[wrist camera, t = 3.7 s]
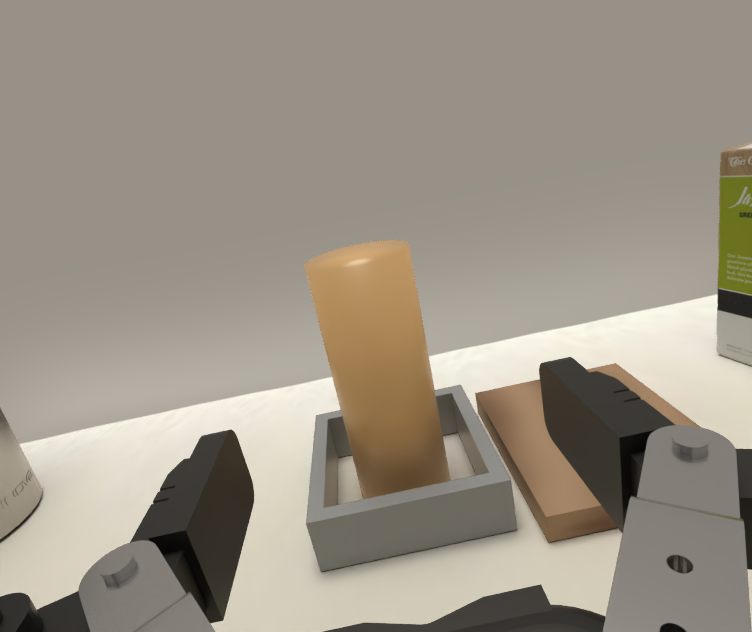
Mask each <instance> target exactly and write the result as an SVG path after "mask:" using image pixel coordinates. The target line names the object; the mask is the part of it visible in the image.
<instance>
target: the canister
mask: <svg viewBox="0 0 752 632" xmlns="http://www.w3.org/2000/svg"><path fill="white" fill-rule="evenodd" d="M305 270H306V274H307V278H308V282H309V286H310V290H311V294H312V298H313V302H314V306H315V310H316V314H317V317H318V322H319V326H320V330H321V334H322V338H323V341H324V345H325V349H326V353H327V357H328V361H329V365H330V369H331V373H332V377H333V381H334V385H335V389H336V393H337V397H338V401H339V405H340V409H341V412H342V416H343V420H344V424H345V428H346V432H347V436H348V440H349V444H350V448H351V452H352V456H353V460H354V464H355V468H356V472H357V476H358V480H359V483H360V487H361V491H362V495H363V499H368V498H373V497H377V496H382V495H387V494H392V493H396V492H401V491H406V490H410V489H415V488H420V487H424V486H429V485H434V484H438V483H443V482H448V481H450V475H449V469H448V464H447V458H446V452H445V446H444V441H443V435H442V429H441V424H440V418H439V412H438V407H437V401H436V395H435V390H434V384H433V378H432V373H431V367H430V361H429V356H428V350H427V345H426V339H425V333H424V328H423V322H422V316H421V310H420V305H419V299H418V293H417V288H416V282H415V276H414V271H413V265H412V260H411V254H410V248H409V243H407V242H406V241H401V240H383V241H375V242H367V243H362V244H357V245H352V246H347V247H343V248H340V249H336V250H333V251H330V252H327V253H324V254H321V255H319V256H316V257H314V258H312V259H311V260H309V261H308V262H306V263H305Z"/></svg>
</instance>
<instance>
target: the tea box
mask: <svg viewBox="0 0 752 632" xmlns="http://www.w3.org/2000/svg"><path fill="white" fill-rule="evenodd" d="M719 184H720V185H719V206H720V220H719V232H718V245H719V266H718V308H717V309H718V310H717V352H718V353H720V355H721V356H724V357H727V358H730V359H732V360H735V361H738V362H741V363H744V364H746V365H749V366H752V142H751V143H747V144H743V145H740V146H736V147H733V148H729V149H726V150H723V151H722V152H721V164H720V180H719Z"/></svg>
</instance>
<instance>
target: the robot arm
mask: <svg viewBox="0 0 752 632" xmlns="http://www.w3.org/2000/svg"><path fill="white" fill-rule="evenodd" d="M539 374H540V384H541V393H542V403H543V412H544V420H545V424H546V427H547V430H548V433H549V435H550V437H551V439H552V441H553V442H554V443H555V445H556V446H557V447H558V449H559V450H560V451H561V453H562V454H563V455H564V457H565V458H566V459H567V461H568V462H569V463H570V465H571V466H572V467H573V469H574V470H575V471H576V473H577V474H578V475H579V476H580V478H581V479H582V480H583V482H584V483H585V484H586V486H587V487H588V488H589V490H590V491H591V492H592V494H593V495H594V496H595V498H596V499H597V500H598V502H599V503H600V504H601V506H602V507H603V508H604V510H605V511H606V512H607V514H608V515H609V516H610V518H611V519H612V520H613V521H614V523H615V524H616V525H617V527H618V528H619V529H620V531H621V532H622V533H623V534H622V539H621V544H620V549H619V554H618V559H617V564H616V568H615V573H614V578H613V583H612V588H611V593H610V598H609V603H608V608H607V613H606V617H605V616H602V615H600V614H597V613H594V612H591V611H587V610H584V609H580V608H576V607H569V606H562V605H550V603H549V601H548V599H547V597H546V594H545V592H544V590H543V588H542V586H541V585H536V586H532V587H527V588H523V589H518V590H513V591H509V592H504V593H500V594H495V595H490V596H486V597H482V598H480V599H478V600H476V601H474V602H472V603H470V604H468V605H466V606H464V607H462V608H460V609H458V610H456V611H454V612H452V613H450V614H448V615H446V616H444V617H442V618H440V619H438V620H436V621H434V622H431V623H429V624H423V625H415V624H387V623H361V624H356V625H352V626H347V627H343V628H338V629H333V630H329V631H324V632H751V617H750V602H749V587H748V573H747V569H752V449H735V447H734V446H733V444H732V443H731V442H730V441H729V440H728V439H726V438H725V437H723V436H722V435H720V434H718V433H716V432H714V431H711V430H708V429H705V428H701V427H696V426H688V425H675V424H674V423H673V422H671V421H670V420H669V419H668V418H666V417H665V416H664V415H662V414H661V413H660V412H659V411H657V410H656V409H655V408H654V407H652V406H651V405H650V404H648V403H647V402H646V401H645V400H643V399H642V400H641V398H640V396H638V395H637V394H636V393H634V392H633V391H630V389H629V388H628V387H627V386H626V385H624V384H623V383H622V382H620V381H619V380H618V379H617V378H615V377H612V376H609V375H606V374H604V373H601V372H598V371H594V372H588V371H587V370H586V369H585V368H584V367H583V366H581V365H580V364H579V363H578V362H577V361H575V360H574V359H573V358H571V357H568V358H563V359H558V360H554V361H549V362H545V363H541V364H540V368H539ZM41 496H42V488H41V486H40V484H39V482H38V480H37V478H36V476H35V474H34V472H33V470H32V468H31V467H30V465H29V463H28V461H27V459H26V457H25V455H24V453H23V451H22V449H21V447H20V445H19V443H18V441H17V439H16V437H15V435H14V433H13V431H12V429H11V428H10V426H9V424H8V422H7V420H6V418H5V416H4V414H3V413H2V411H1V408H0V539H1V538H3V537H4V536H6V535H7V534H8V533H9V532H11V531H12V530H13V529H14V528H15V527H17V526H18V525H19V524H20V523H21V522H22V521H23V520H24V519H25V518H26V517H27V516H28V515H29V514H30V513H31V512H32V511H33V509H34V508H35V507H36V505H37V504H38V502H39V500H40V498H41ZM253 503H254V489H253V483H252V479H251V476H250V473H249V470H248V468H247V465H246V462H245V459H244V456H243V453H242V450H241V447H240V444H239V441H238V438H237V436H236V434H235V432H234V431H233V430H227V431H222V432H217V433H213V434H208V435H204V436H202V437H201V438H200V439H199V441H198V443H197V445H196V447H195V449H194V451H193V453H192V455H191V457H190V458H188V459H184V460H183V461H181V462H180V463H179V464H178V465H177V466H176V467H175V468H174V469H173V470H172V471H171V472H170V473H169V474H168V476H167V477H166V479H165V481H164V483H163V484H162V486H161V488H160V492H158V493H157V495H156V497H155V499H154V501H153V504H152V505H151V506H150V508H149V509H148V511H147V513H146V515H145V517H144V518H143V520H142V522H141V524H140V526H139V527H138V529H137V531H136V533H135V534H134V536H133V538H132V540H131V542H130V543H128V544H125V545H123V546H120V547H118V548H116V549H114V550H113V551H111V552H109V553H108V554H106V555H105V556H104V557H102V558H101V559H100V560H98V561H97V562H96V563H95V564H94V565H93V566H92V567H91V568H90V569H89V570H88V572H87V573H86V574H85V576H84V577H83V579H82V581H81V583H80V586H79V591H78V592H75V593H73V594H71V595H69V596H67V597H64V598H62V599H60V600H58V601H55V602H53V603H51V604H49V605H46V606H44V607H42V608H40V609H37V610H36V608H35V606H34V605H33V603H32V601H31V599H30V598H29V596H28V595H26V594H24V593H12V594H8V595H5V596H1V597H0V632H215V630H214V629H213V627H212V626H211V624H210V623H214V622H218V621H223V619H224V615H225V611H226V608H227V604H228V600H229V596H230V592H231V588H232V585H233V581H234V577H235V573H236V569H237V565H238V562H239V558H240V554H241V550H242V546H243V542H244V539H245V535H246V531H247V527H248V523H249V519H250V516H251V512H252V508H253Z"/></svg>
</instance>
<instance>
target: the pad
mask: <svg viewBox="0 0 752 632" xmlns="http://www.w3.org/2000/svg"><path fill="white" fill-rule="evenodd" d="M587 371H588V372H594V371H598V372H601V373H604V374H606V375H609V376H612V377H615V378H617V379H618V380H619V381H620V382H622V383H623V384H624V385H626V386H627V387H628V388H629V389H630V391H633V392H634V393H636V394H637V395H638V396H640V398H641V400H642V399H643V400H645V401H646V402H647V403H648V404H650V405H651V406H652V407H654V408H655V409H656V410H657V411H659V412H660V413H661V414H662V415H664V416H665V417H666V418H668V419H669V420H670V421H671V422H673V423H674V424H675V425H688V426H696V427H700V426H698V425H697V424H696V423H694V422H693V421H692V420H690V419H689V418H688V417H686V416H685V415H684V414H682V413H681V412H680V411H678V410H677V409H676V408H674V407H673V406H672V405H670V404H669V403H668V402H666V401H665V400H664V399H662V398H661V397H660V396H658V395H657V394H656V393H654V392H653V391H652V390H650V389H649V388H648V387H646V386H645V385H644V384H643V383H641V382H640V381H639V380H637V379H636V378H635V377H633V376H632V375H631V374H629V373H628V372H627V371H625V370H624V369H623V368H621V367H620V366H619V365H617V364H616V363H615V364H611V365H606V366H601V367H596V368H592V369H587ZM475 394H476V401H477V408H478V413H479V414H480V416H481V418H482V420H483V422H484V424H485V426H486V427H487V429H488V431H489V433H490V435H491V437H492V439H493V440H494V442H495V444H496V446H497V448H498V450H499V451H500V453H501V455H502V457H503V459H504V461H505V463H506V464H507V466H508V468H509V470H510V472H511V474H512V476H513V477H514V479H515V481H516V483H517V485H518V487H519V488H520V490H521V492H522V494H523V496H524V498H525V500H526V501H527V503H528V505H529V507H530V509H531V511H532V513H533V514H534V516H535V518H536V520H537V522H538V524H539V526H540V527H541V529H542V531H543V533H544V535H545V537H546V538H547V540H548V542H553V541H557V540H562V539H567V538H571V537H576V536H581V535H585V534H590V533H595V532H599V531H604V530H609V529H613V528H618V527H617V525H616V524H615V523H614V521H613V520H612V519H611V518H610V516H609V515H608V514H607V512H606V511H605V510H604V508H603V507H602V506H601V504H600V503H599V502H598V500H597V499H596V498H595V496H594V495H593V494H592V492H591V491H590V490H589V488H588V487H587V486H586V484H585V483H584V482H583V480H582V479H581V478H580V476H579V475H578V474H577V473H576V471H575V470H574V469H573V467H572V466H571V465H570V463H569V462H568V461H567V459H566V458H565V457H564V455H563V454H562V453H561V451H560V450H559V449H558V447H557V446H556V445H555V443H554V442H553V441H552V439H551V437H550V435H549V433H548V430H547V427H546V424H545V420H544V412H543V403H542V393H541V384H540V380H535V381H531V382H526V383H521V384H516V385H512V386H507V387H502V388H498V389H493V390H488V391H483V392H479V393H475Z"/></svg>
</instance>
